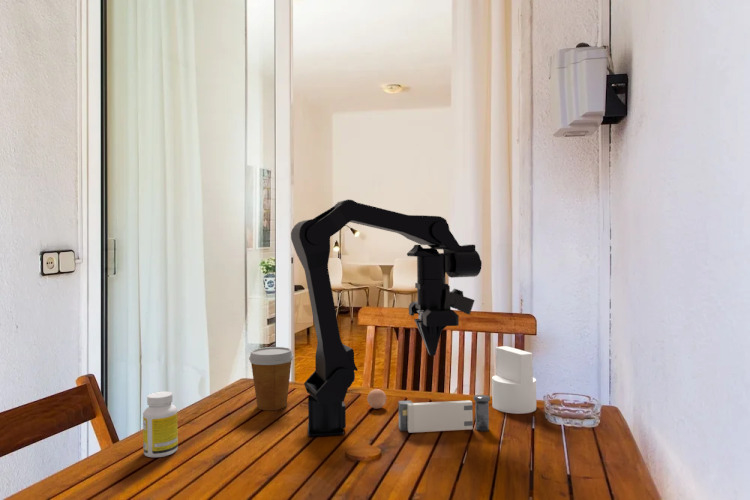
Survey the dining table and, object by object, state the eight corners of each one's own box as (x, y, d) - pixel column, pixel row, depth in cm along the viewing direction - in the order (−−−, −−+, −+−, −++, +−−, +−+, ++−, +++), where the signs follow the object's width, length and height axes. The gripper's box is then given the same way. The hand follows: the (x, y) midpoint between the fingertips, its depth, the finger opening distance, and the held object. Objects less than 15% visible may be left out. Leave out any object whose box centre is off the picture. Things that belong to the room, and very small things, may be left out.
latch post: (400, 431, 98) (400, 404, 98) (398, 427, 101) (398, 401, 101) (413, 431, 98) (413, 404, 98) (411, 426, 101) (410, 400, 101)
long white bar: (470, 426, 100) (470, 400, 99) (472, 429, 98) (472, 402, 98) (407, 430, 98) (407, 403, 98) (408, 432, 97) (408, 405, 97)
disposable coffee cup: (258, 399, 120) (257, 346, 120) (299, 400, 119) (298, 346, 119) (242, 412, 111) (241, 355, 111) (286, 413, 110) (285, 355, 110)
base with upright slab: (483, 403, 115) (483, 348, 115) (517, 398, 118) (517, 344, 118) (510, 416, 106) (509, 356, 106) (545, 409, 110) (545, 352, 110)
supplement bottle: (184, 448, 92) (183, 391, 92) (162, 460, 87) (161, 400, 87) (159, 444, 94) (158, 389, 93) (136, 456, 88) (135, 397, 88)
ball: (361, 400, 113) (368, 404, 109) (370, 384, 114) (378, 387, 111) (375, 409, 114) (383, 414, 111) (384, 393, 115) (392, 396, 112)
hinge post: (476, 432, 97) (476, 399, 97) (471, 426, 100) (471, 395, 100) (492, 431, 98) (492, 398, 98) (487, 425, 101) (486, 394, 101)
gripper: (484, 280, 100) (485, 364, 100) (457, 275, 118) (458, 345, 118) (426, 282, 98) (427, 366, 98) (407, 276, 117) (408, 347, 117)
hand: (432, 355), depth 108 cm, fingers closed
